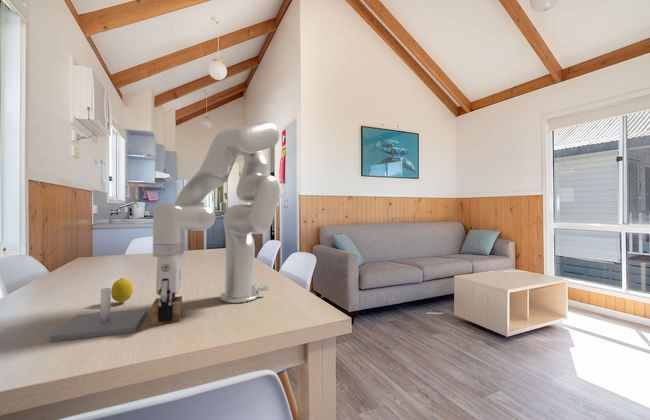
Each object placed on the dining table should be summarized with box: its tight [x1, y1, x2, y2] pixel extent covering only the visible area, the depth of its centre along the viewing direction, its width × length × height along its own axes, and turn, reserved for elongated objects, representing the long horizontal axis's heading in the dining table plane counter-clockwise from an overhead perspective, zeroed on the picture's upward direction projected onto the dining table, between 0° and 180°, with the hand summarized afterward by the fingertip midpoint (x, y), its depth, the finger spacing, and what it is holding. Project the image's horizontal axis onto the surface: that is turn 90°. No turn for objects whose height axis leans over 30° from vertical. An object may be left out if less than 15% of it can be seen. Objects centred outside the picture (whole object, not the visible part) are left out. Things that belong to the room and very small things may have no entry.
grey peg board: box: [50, 287, 148, 342], centre depth 74 cm, size 16×14×9 cm
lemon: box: [111, 277, 134, 304], centre depth 91 cm, size 6×6×8 cm
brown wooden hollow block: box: [150, 295, 183, 326], centre depth 79 cm, size 6×6×5 cm
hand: (167, 315), depth 79 cm, fingers closed on brown wooden hollow block, 6 cm apart
